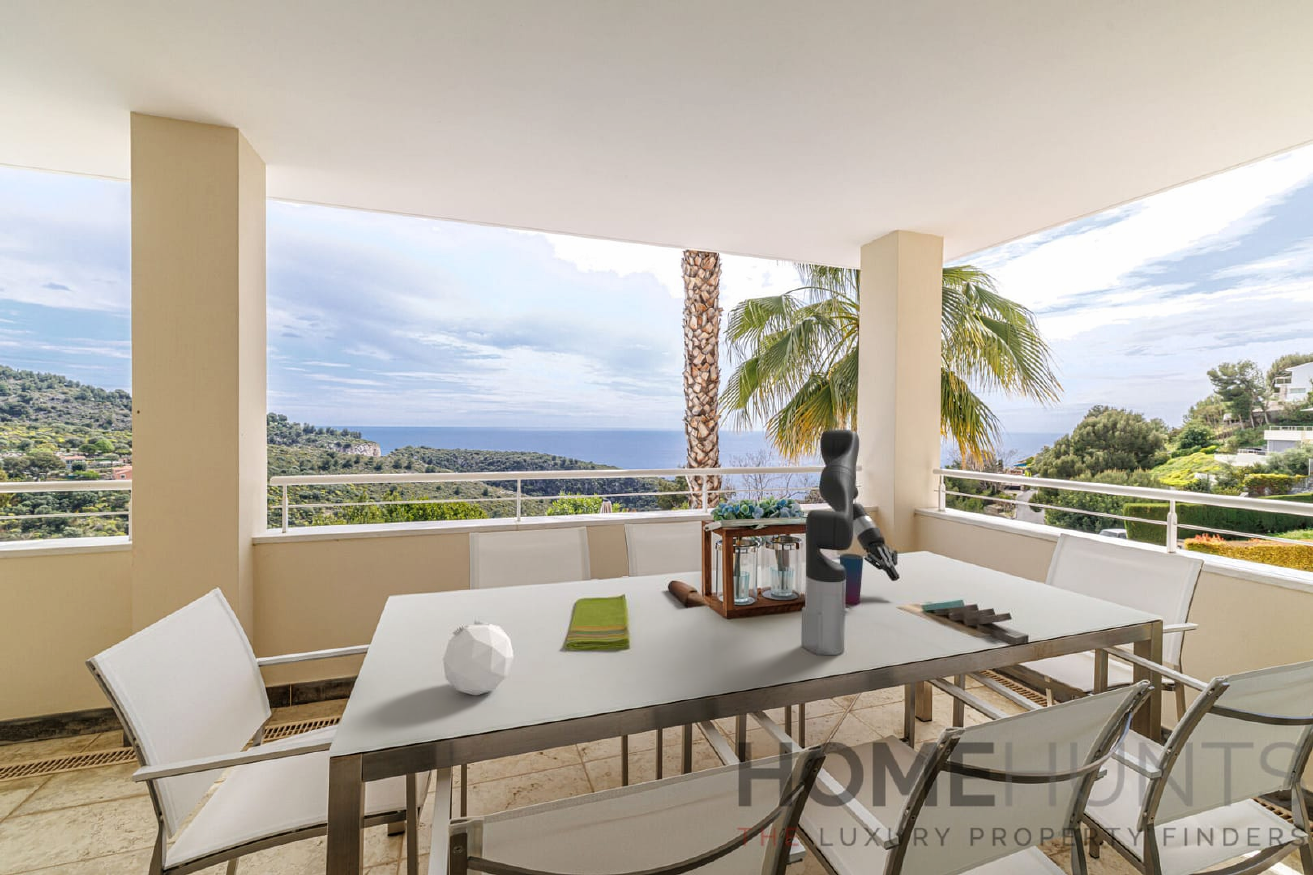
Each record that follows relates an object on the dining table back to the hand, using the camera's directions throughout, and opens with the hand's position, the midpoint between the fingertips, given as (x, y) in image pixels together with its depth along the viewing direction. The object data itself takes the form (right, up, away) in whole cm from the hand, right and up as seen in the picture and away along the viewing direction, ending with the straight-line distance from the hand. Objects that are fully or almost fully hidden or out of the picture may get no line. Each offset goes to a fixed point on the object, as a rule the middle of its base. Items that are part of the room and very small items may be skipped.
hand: (896, 579), depth 171 cm
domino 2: (+6, -5, -14) cm, 17 cm away
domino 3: (+8, -6, -19) cm, 21 cm away
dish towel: (-90, -7, -23) cm, 93 cm away
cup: (-16, -7, -5) cm, 18 cm away
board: (+8, -7, -17) cm, 20 cm away
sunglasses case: (-64, -7, +1) cm, 65 cm away
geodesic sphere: (-110, -7, -61) cm, 126 cm away
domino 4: (+10, -5, -22) cm, 25 cm away
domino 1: (+5, -5, -11) cm, 13 cm away
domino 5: (+12, -6, -26) cm, 29 cm away
